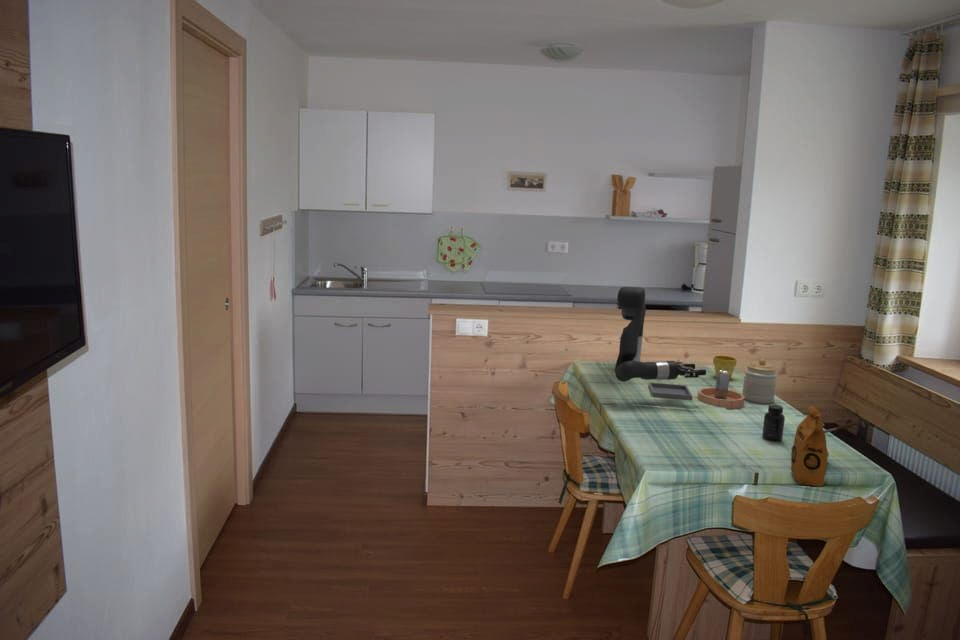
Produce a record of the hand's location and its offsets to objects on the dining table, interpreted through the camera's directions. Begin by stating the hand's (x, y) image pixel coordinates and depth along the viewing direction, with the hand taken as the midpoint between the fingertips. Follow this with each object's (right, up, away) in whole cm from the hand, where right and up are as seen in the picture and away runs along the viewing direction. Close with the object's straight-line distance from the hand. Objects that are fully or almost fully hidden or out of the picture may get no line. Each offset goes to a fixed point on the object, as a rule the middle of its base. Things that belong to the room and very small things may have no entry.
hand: (700, 369), depth 308 cm
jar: (+28, -14, +12) cm, 33 cm away
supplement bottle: (+15, -23, -37) cm, 46 cm away
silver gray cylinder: (+10, -13, +5) cm, 17 cm away
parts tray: (-9, -11, +12) cm, 19 cm away
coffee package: (+12, -30, -73) cm, 80 cm away
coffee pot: (+25, -27, -56) cm, 67 cm away
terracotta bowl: (+10, -14, +5) cm, 18 cm away
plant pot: (+23, -7, +44) cm, 51 cm away
